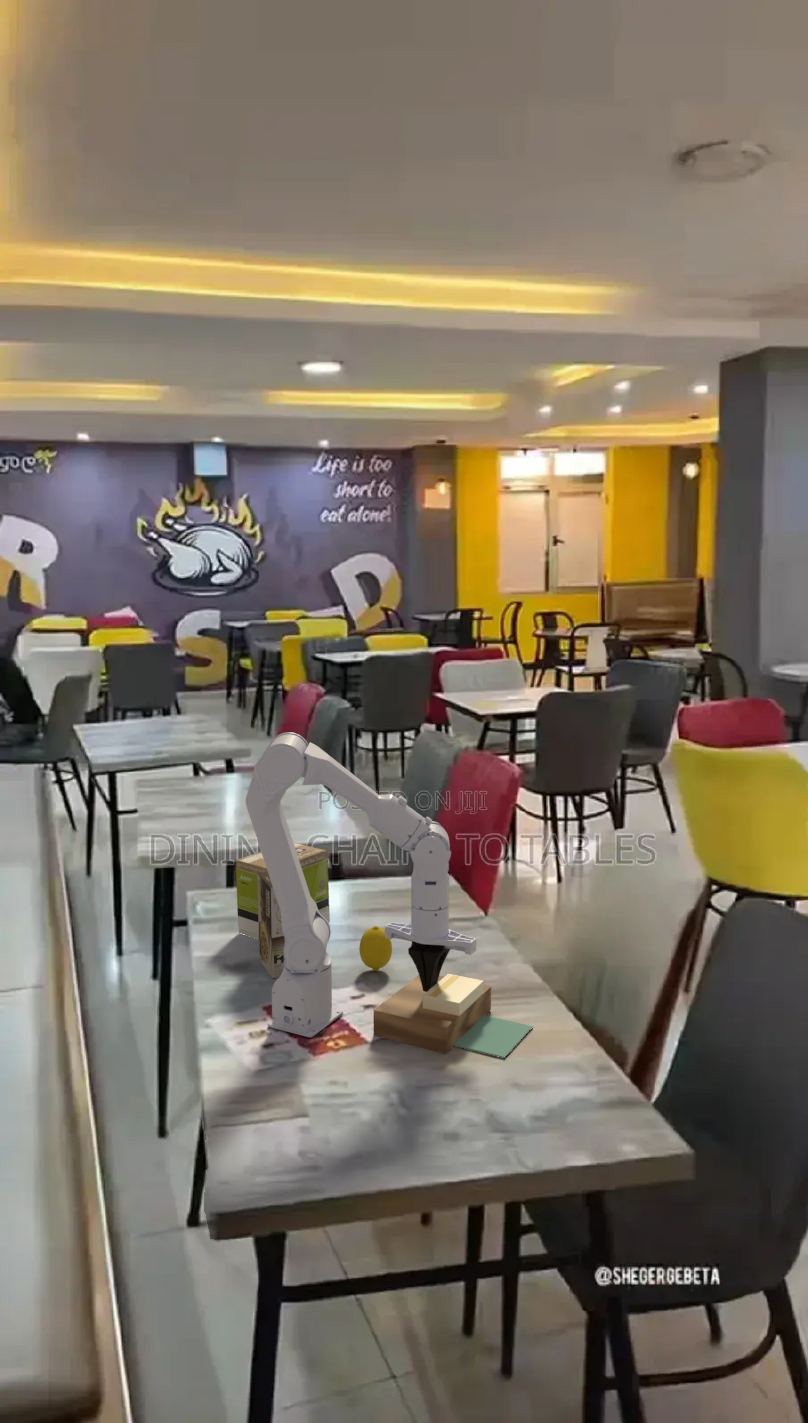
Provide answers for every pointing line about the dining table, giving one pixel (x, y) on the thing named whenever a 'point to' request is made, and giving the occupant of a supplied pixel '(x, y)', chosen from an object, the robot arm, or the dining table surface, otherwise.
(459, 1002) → the cream rectangular block
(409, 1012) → the brown wooden flat block
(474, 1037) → the mat
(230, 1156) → the dining table surface
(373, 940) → the lemon
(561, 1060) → the dining table surface
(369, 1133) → the dining table surface
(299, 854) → the tea box
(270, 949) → the coffee box
